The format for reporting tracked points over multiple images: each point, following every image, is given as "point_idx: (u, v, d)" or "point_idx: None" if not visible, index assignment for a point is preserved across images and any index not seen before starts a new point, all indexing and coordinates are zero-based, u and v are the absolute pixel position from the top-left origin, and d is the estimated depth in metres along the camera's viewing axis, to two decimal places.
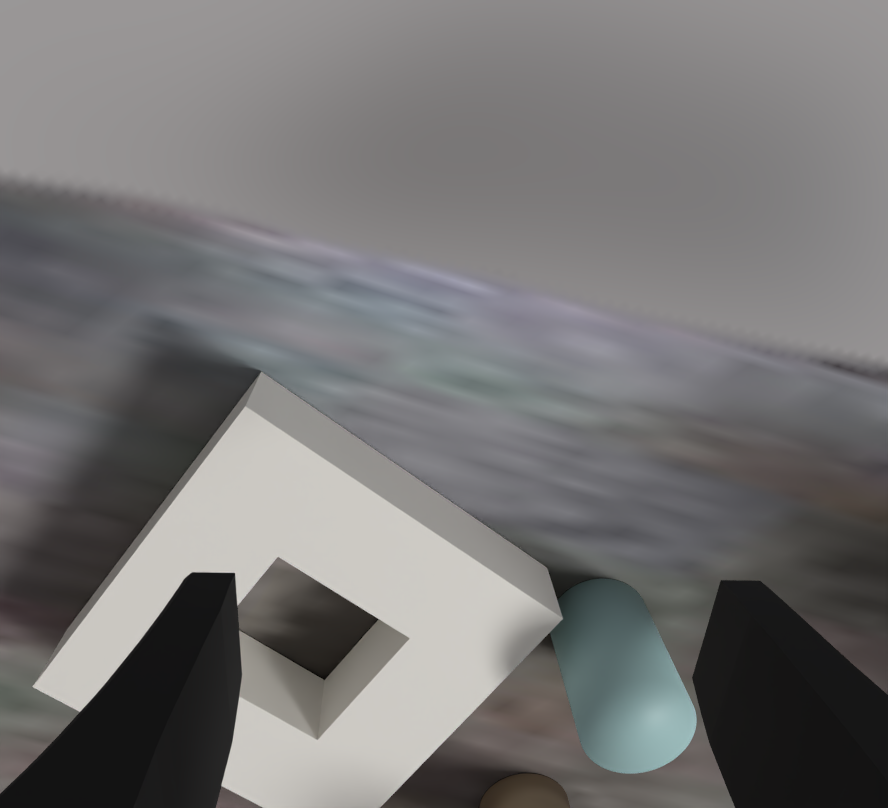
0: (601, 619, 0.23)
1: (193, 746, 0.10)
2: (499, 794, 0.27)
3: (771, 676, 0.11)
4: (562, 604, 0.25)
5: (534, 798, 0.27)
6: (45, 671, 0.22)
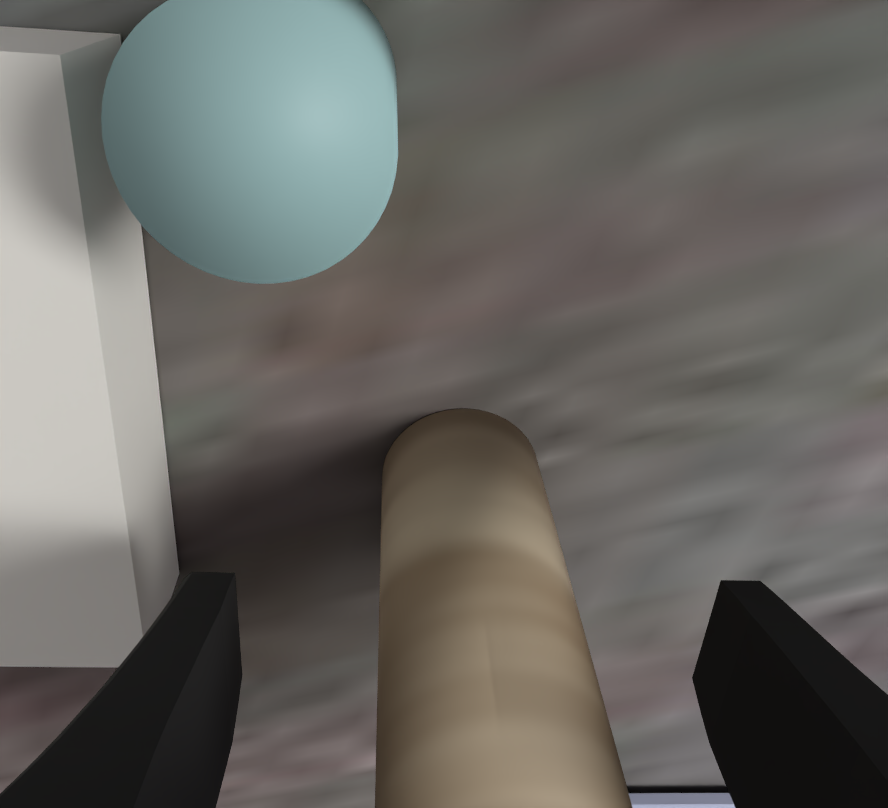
0: None
1: (193, 746, 0.10)
2: (385, 473, 0.15)
3: (771, 676, 0.11)
4: None
5: (423, 448, 0.15)
6: None
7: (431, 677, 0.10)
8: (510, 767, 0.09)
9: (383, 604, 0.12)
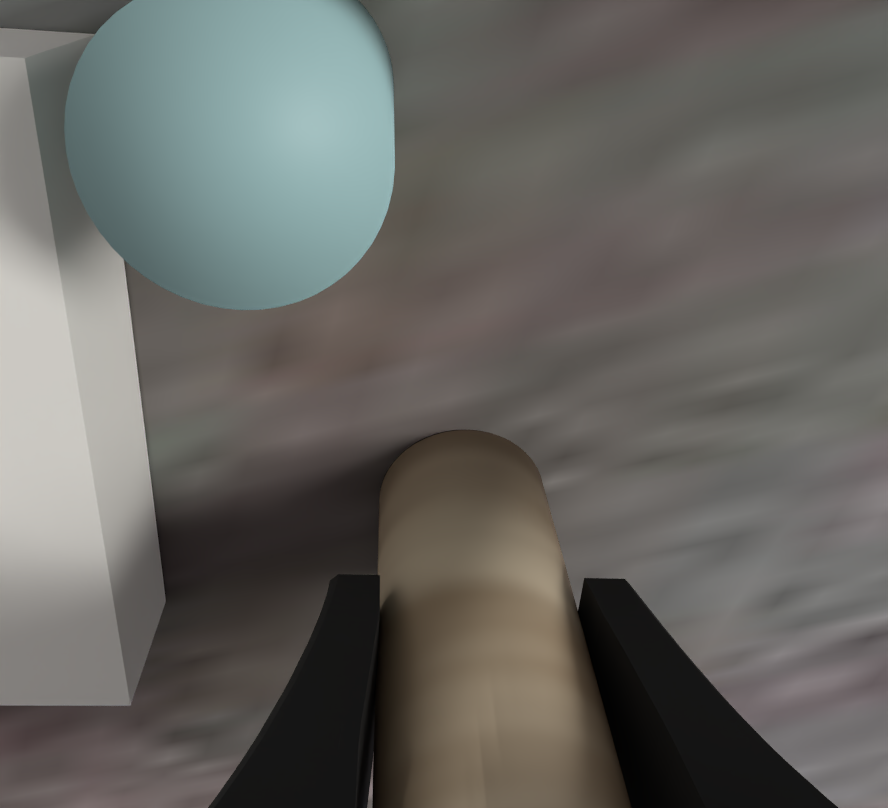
0: None
1: (365, 746, 0.10)
2: (382, 498, 0.15)
3: (616, 675, 0.11)
4: None
5: (422, 473, 0.14)
6: None
7: (432, 735, 0.09)
8: None
9: (380, 646, 0.12)
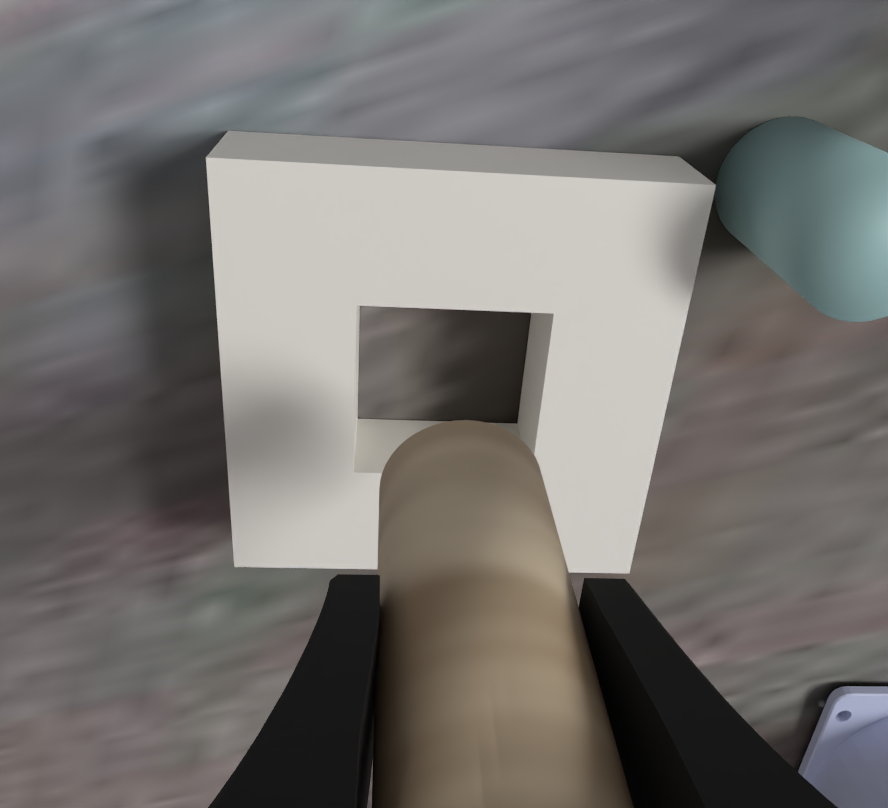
0: (769, 163, 0.17)
1: (365, 746, 0.10)
2: (382, 489, 0.15)
3: (616, 675, 0.11)
4: (721, 186, 0.19)
5: (420, 463, 0.14)
6: (234, 546, 0.20)
7: (429, 718, 0.09)
8: None
9: (379, 633, 0.12)
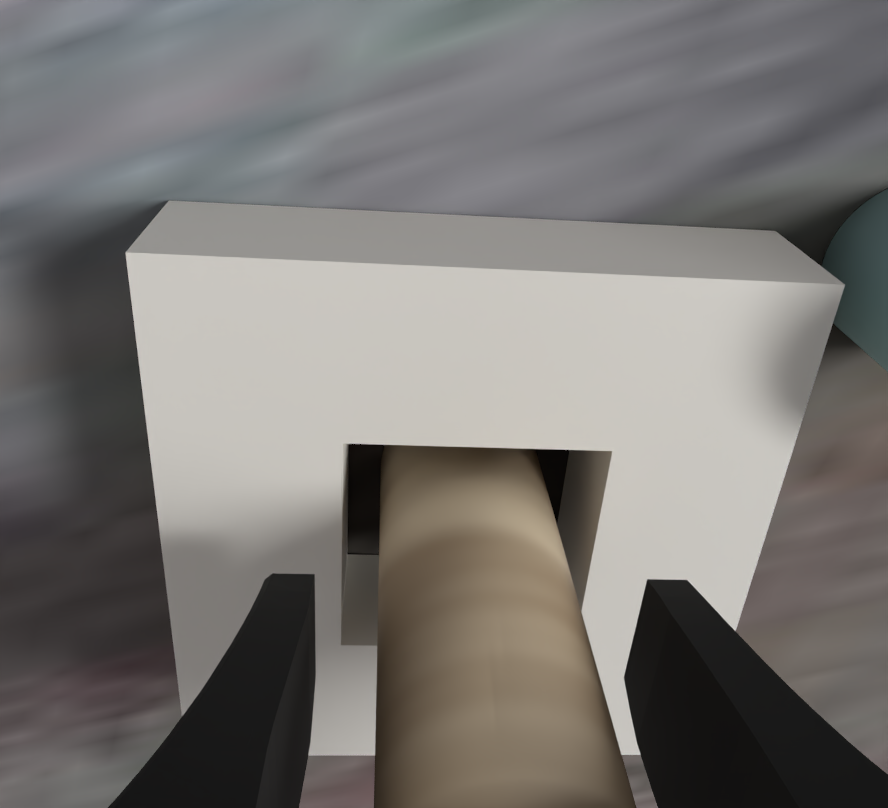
0: None
1: (288, 746, 0.10)
2: (383, 463, 0.15)
3: (687, 675, 0.11)
4: (832, 271, 0.14)
5: None
6: None
7: (429, 662, 0.10)
8: (506, 749, 0.09)
9: (381, 592, 0.12)
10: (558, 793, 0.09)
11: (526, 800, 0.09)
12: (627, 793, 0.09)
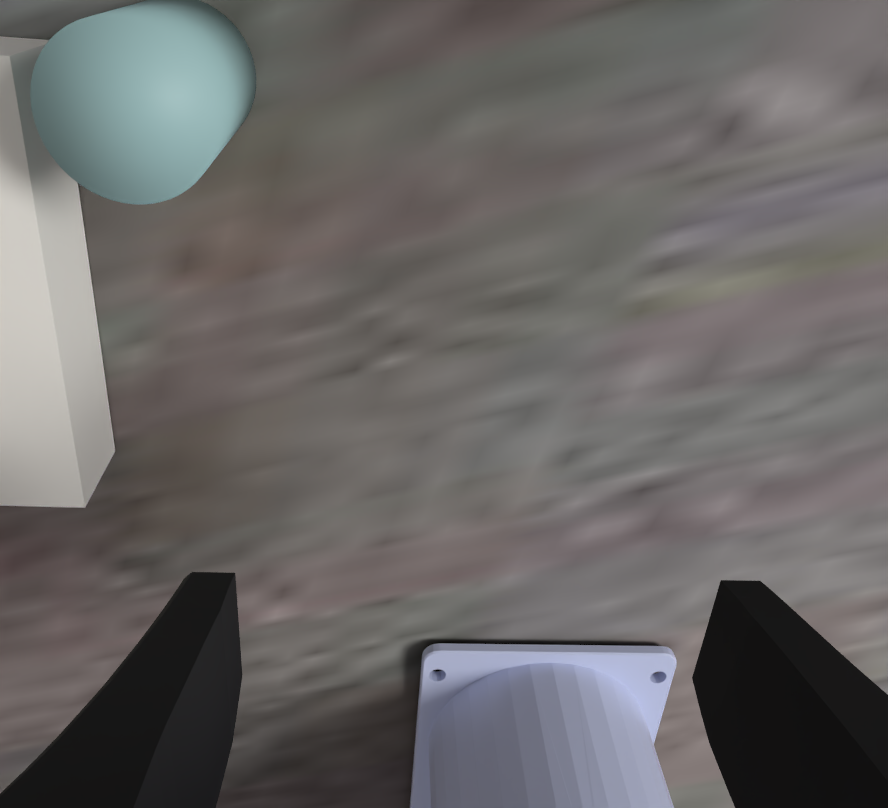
0: None
1: (193, 746, 0.10)
2: None
3: (771, 676, 0.11)
4: None
5: None
6: None
7: None
8: None
9: None
10: None
11: None
12: None
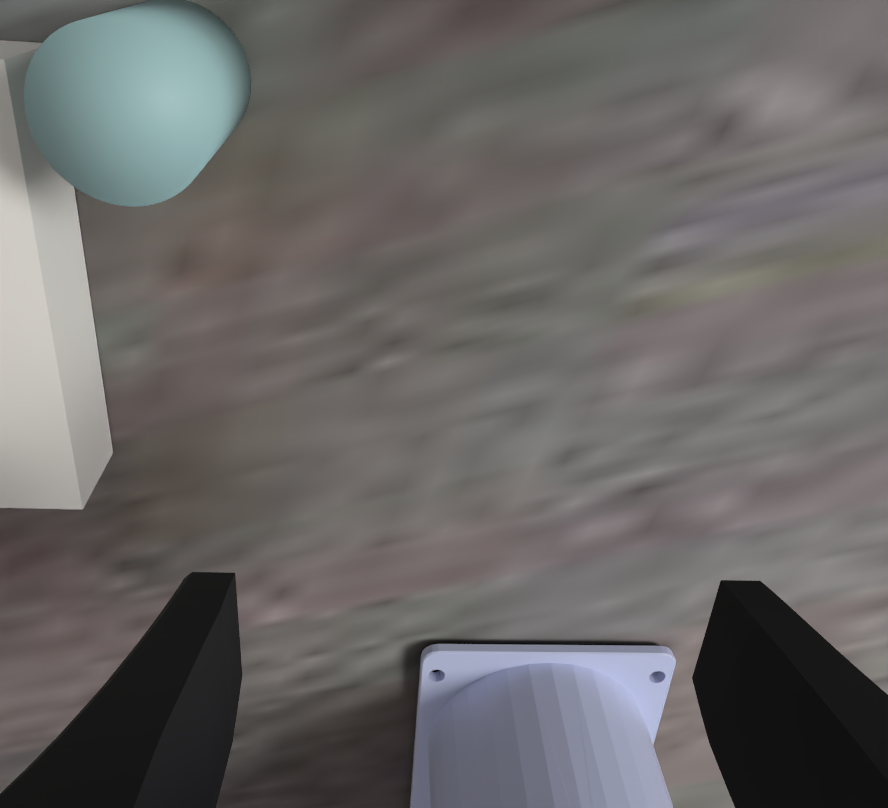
0: None
1: (193, 746, 0.10)
2: None
3: (771, 676, 0.11)
4: None
5: None
6: None
7: None
8: None
9: None
10: None
11: None
12: None
